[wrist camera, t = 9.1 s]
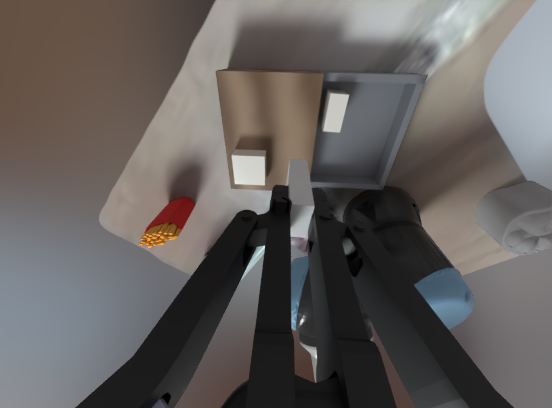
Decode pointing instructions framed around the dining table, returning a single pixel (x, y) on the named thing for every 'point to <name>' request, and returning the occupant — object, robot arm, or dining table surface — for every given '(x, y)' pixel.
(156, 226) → the french fries
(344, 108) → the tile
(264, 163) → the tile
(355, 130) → the box
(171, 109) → the dining table surface
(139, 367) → the robot arm
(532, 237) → the knobbly-topped grey block
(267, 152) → the walnut platform
